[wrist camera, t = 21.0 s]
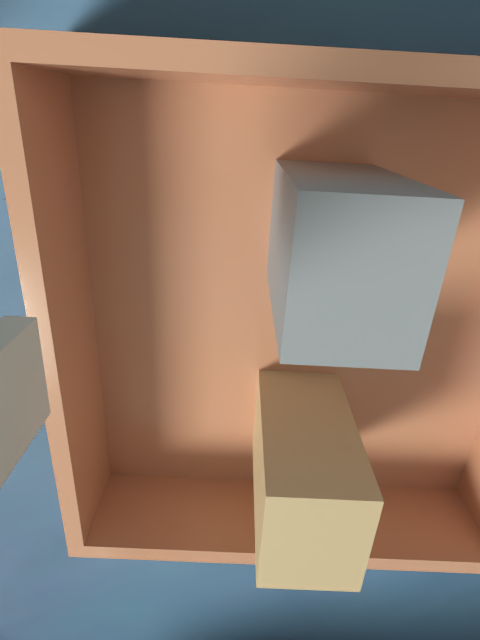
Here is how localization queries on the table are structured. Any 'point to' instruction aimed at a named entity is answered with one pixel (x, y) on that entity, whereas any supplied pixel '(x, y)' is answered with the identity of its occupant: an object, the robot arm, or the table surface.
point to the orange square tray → (225, 280)
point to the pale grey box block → (356, 263)
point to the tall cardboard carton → (310, 485)
